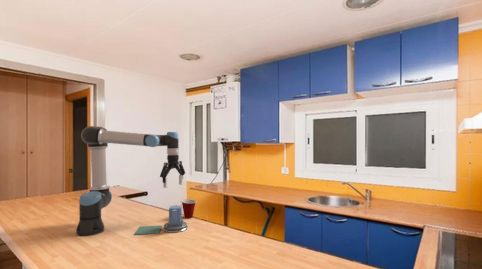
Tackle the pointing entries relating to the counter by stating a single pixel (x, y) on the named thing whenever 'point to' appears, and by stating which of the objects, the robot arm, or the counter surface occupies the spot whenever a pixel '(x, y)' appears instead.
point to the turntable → (175, 226)
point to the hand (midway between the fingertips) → (173, 186)
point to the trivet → (148, 230)
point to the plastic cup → (188, 207)
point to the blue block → (175, 215)
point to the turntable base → (175, 231)
